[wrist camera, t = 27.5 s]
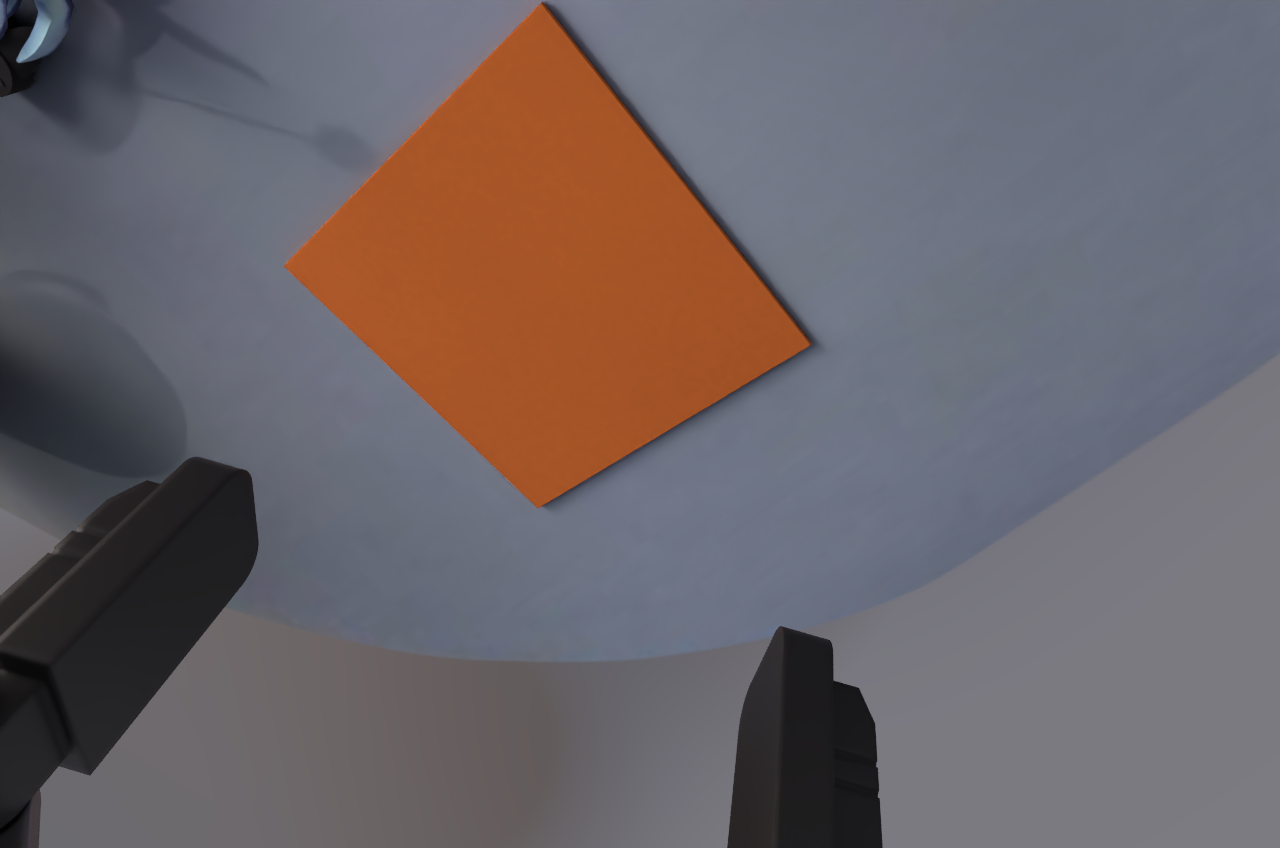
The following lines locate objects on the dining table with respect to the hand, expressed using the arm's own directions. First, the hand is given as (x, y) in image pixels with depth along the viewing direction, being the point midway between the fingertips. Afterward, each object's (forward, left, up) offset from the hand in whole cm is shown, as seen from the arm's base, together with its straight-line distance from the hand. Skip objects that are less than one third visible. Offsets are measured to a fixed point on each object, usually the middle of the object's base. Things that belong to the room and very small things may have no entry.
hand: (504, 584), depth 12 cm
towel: (-2, +11, -26) cm, 28 cm away
